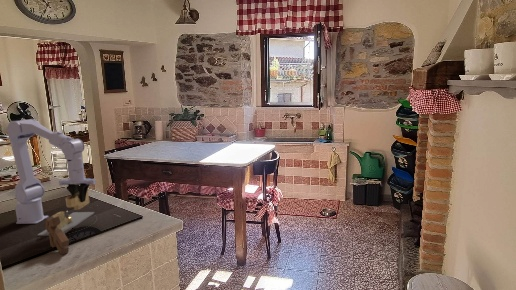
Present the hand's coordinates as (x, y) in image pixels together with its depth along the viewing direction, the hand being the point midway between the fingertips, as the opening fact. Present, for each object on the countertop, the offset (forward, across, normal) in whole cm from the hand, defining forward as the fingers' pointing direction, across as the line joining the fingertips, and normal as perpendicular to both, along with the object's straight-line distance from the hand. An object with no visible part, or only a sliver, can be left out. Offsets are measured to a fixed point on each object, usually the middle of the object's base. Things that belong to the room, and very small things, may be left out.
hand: (80, 201), depth 144 cm
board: (+10, -7, +2) cm, 13 cm away
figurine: (+10, +4, -22) cm, 24 cm away
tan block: (+2, 0, -1) cm, 3 cm away
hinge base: (+10, -7, -3) cm, 12 cm away
